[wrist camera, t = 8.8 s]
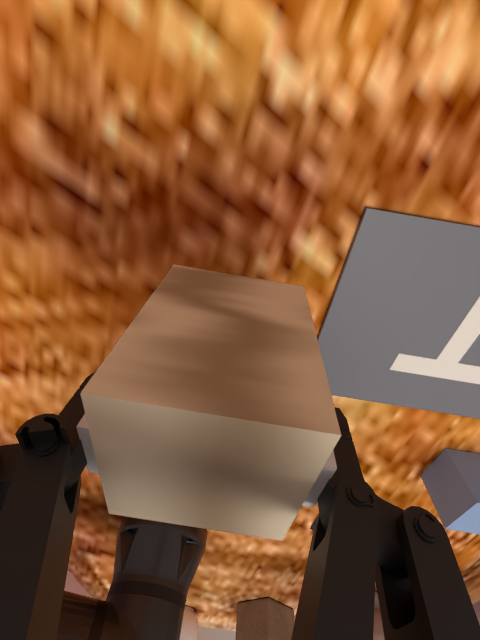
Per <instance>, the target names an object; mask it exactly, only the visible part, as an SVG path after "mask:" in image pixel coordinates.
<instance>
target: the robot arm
mask: <svg viewBox="0 0 480 640" xmlns="http://www.w3.org/2000/svg"><path fill="white" fill-rule="evenodd" d="M95 372H96V371H95ZM95 372H94V373H92V374H91V375H90V376H88V377H87V378H86V379H85V381H84V382H83V383H82V385H81V386H80V388H79V389H78V390H77V391H76V393H75V394H74V396H73V397H72V398H71V399H70V401H69V402H68V403H67V405H66V406H65V407H64V409H63V410H62V411H61V413H60V414H59V415H55V414H43V415H39V416H35V417H33V418H32V419H30V420H28V421H26V422H25V423H24V424H23V425H22V426H20V428H19V429H18V431H17V432H16V434H15V435H16V437H17V439H18V441H19V444H11V445H4V446H0V640H179V639H180V633H181V627H182V621H183V615H184V609H185V603H186V597H187V593H188V590H189V587H190V585H191V582H192V580H193V578H194V575H195V573H196V571H197V568H198V566H199V563H200V561H201V559H202V556H203V554H204V551H205V546H206V540H207V532H206V529H203V528H197V527H191V526H184V525H178V524H171V523H165V522H158V521H152V520H146V519H139V518H133V517H126V516H125V517H124V518H123V520H122V523H121V526H120V528H119V531H118V535H117V544H116V554H115V564H114V574H113V580H112V583H111V586H110V589H109V592H108V595H107V598H106V601H102V600H98V599H94V598H90V597H86V596H82V595H79V594H75V593H71V592H67V591H64V588H65V582H66V581H65V580H66V575H67V569H68V563H69V557H70V550H71V544H72V538H73V532H74V525H75V519H76V513H77V507H78V500H79V494H80V488H81V473H82V471H83V470H84V468H85V466H86V464H87V468H88V472H92V473H98V474H99V470H98V466H97V462H96V458H95V453H94V449H93V445H92V441H91V436H90V432H89V428H88V424H87V419H86V415H85V411H84V407H83V402H82V398H81V394H80V393H81V391H82V390H83V389H84V387H85V386H86V385H87V383H88V382H89V380H90V379H91V378H92V376H93V375H94V374H95ZM335 412H336V416H337V420H338V424H339V428H340V432H341V437H340V439H339V440H338V442H337V444H336V446H335V447H334V449H333V451H332V453H331V455H330V456H329V458H328V460H327V462H326V463H325V465H324V467H323V469H322V471H321V472H320V474H319V476H318V478H317V480H316V481H315V483H314V485H313V487H312V488H311V490H310V492H309V494H308V496H307V497H306V499H305V501H304V503H303V504H302V506H307V507H314V505H315V504H316V502H317V501H318V506H319V514H318V515H317V517H316V519H315V520H314V522H313V523H312V525H311V528H310V529H312V530H313V529H314V532H313V536H312V541H311V546H310V551H309V556H308V560H307V565H306V570H305V575H304V580H303V584H302V589H301V594H300V599H299V604H298V608H297V613H296V618H295V623H294V628H293V632H292V637H291V640H373V631H374V604H375V581H376V587H377V594H378V600H379V606H380V613H381V619H382V625H383V632H384V638H385V640H480V625H479V622H478V620H477V617H476V614H475V611H474V609H473V605H472V603H471V600H470V597H469V594H468V592H467V589H466V586H465V583H464V580H463V578H462V575H461V572H460V569H459V566H458V564H457V561H456V558H455V555H454V553H453V550H452V547H451V544H450V541H449V539H448V536H447V534H446V532H445V530H444V528H443V526H442V525H441V523H440V522H439V521H438V520H437V519H436V517H435V516H433V515H432V514H431V513H430V512H428V511H427V510H425V509H423V508H421V507H416V506H411V507H409V508H407V509H406V510H403V509H401V508H399V507H397V506H394V505H392V504H390V503H388V502H386V501H384V500H383V499H381V498H380V497H378V496H377V495H376V494H375V493H374V491H373V489H372V488H371V487H370V486H369V485H368V484H367V483H366V482H365V480H364V478H363V475H362V472H361V468H360V465H359V461H358V458H357V454H356V451H355V447H354V444H353V441H352V437H351V433H350V432H349V426H348V422H347V419H346V417H345V416H344V415H343V413H342V412H341V410H340V409H339V408H335Z"/></svg>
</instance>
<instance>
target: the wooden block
mask: <svg viewBox="0 0 480 640" xmlns="http://www.w3.org/2000/svg"><path fill="white" fill-rule="evenodd" d="M293 628H294V611H293V609H291V608H289V607H287V606H285V605H283V604H281V603H279V602H277V601H275V600H273V599H271V598H269V597H268V598H262V599H256V600H251V601H245V602H240V603H238V607H237V624H236V640H291V637H292V632H293Z"/></svg>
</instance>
